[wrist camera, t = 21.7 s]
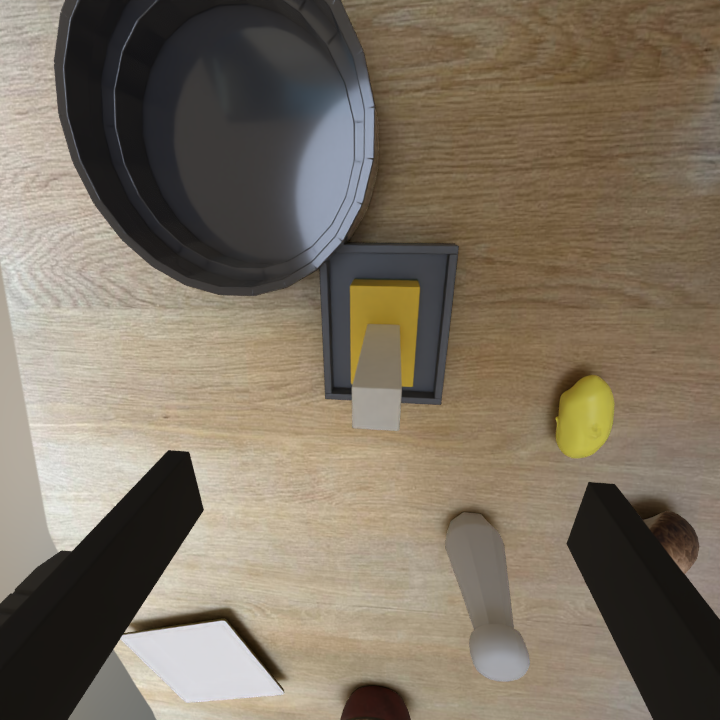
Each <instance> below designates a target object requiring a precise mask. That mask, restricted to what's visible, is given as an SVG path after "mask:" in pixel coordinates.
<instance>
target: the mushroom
mask: <svg viewBox="0 0 720 720" xmlns="http://www.w3.org/2000/svg"><path fill="white" fill-rule="evenodd" d="M643 521H644V522H645V524H646V525H647V526H648V528H649V529H650V530H651V531H652V533H653V534H654V535H655V537H656V538H657V539H658V540H659V542H660V543H661V544H662V546H663V547H664V548H665V550H666V551H667V552H668V553H669V555H670V556H671V557H672V559H673V560H674V561H675V562H676V564H677V565H678V566H679V568H680V569H681V570H682V572H683V573H684V574H685V573H686V572H687V571H688V570H689V569H690V568H691V566H692V565H693V564H694V562H695V561H696V559H697V556H698V551H699V542H698V537H697V535H696V532H695V530H694V529H693V527H692V526H691V525H690V524H689V523H688V522H687V521H686V520H685V519H684V518H682V517H681V516H680V515H678V514H676V513H673V512H669V511H665V512H663V513H660V514H658V515H656V516H654V517H652V518H649V519H644V520H643Z"/></svg>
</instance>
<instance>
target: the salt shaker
mask: <svg viewBox="0 0 720 720" xmlns="http://www.w3.org/2000/svg"><path fill="white" fill-rule="evenodd" d="M445 548H446V551H447V554H448V557H449V559H450V562H451V565H452V568H453V571H454V573H455V576H456V579H457V582H458V584H459V587H460V590H461V593H462V596H463V599H464V602H465V605H466V607H467V610H468V613H469V616H470V619H471V622H472V625H473V628H474V631H473V632H471V636H470V641H469V647H470V654H471V657H472V661H473V664H474V666H475V667H476V669H477V671H478V672H480V673H481V674H482V675H483V676H485V677H487V678H488V679H491V680H495V681H512V680H517V679H519V678H520V677H522V676H523V675H525V673H526V671H527V669H528V667H529V665H530V660H529V653H528V650H527V647H526V645H525V642H524V640H523V638H522V636H521V634H520V633H519V632H518V631H517V630H516V629H514V625H513V616H512V608H511V599H510V591H509V582H508V574H507V565H506V557H505V548H504V543H503V541H502V538H501V536H500V534H499V532H498V531H497V530H496V529H495V528H494V527H493V526H492V525H491V524H490V523H489V522H488V521H487V520H485V518H484V517H483V516H482V515H481V514H478V513H467V512H463V513H461V514H460V515H459V516H457V517H456V518H454V519H453V520H451V522H450V525H449V528H448V532H447V535H446V541H445Z"/></svg>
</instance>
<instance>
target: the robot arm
mask: <svg viewBox="0 0 720 720" xmlns="http://www.w3.org/2000/svg"><path fill="white" fill-rule="evenodd" d="M203 510H204V509H203V505H202V501H201V497H200V493H199V489H198V485H197V481H196V477H195V473H194V469H193V465H192V461H191V457H190V453H189V452H185V451H171V450H168V451H167V452H166V453H165V454H164V456H163V457H162V458H161V459H160V460H159V461H158V462H157V463H156V464H155V465H154V466H153V467H152V468H151V469H150V470H149V471H148V472H147V473H146V474H145V475H144V476H143V478H142V479H141V480H140V481H139V482H138V483H137V484H136V485H135V486H134V487H133V488H132V489H131V490H130V491H129V492H128V493H127V494H126V495H125V496H124V497H123V498H122V500H121V501H120V502H119V503H118V504H117V505H116V506H115V507H114V508H113V509H112V510H111V511H110V512H109V513H108V514H107V515H106V516H105V517H104V518H103V519H102V520H101V522H100V523H99V524H98V525H97V526H96V527H95V528H94V529H93V530H92V531H91V532H90V533H89V534H88V535H87V536H86V537H85V538H84V539H83V540H82V541H81V542H80V544H79V545H78V546H77V547H76V548H75V549H74V550H73V551H72V552H71V551H60V552H59V553H57V554H56V555H54V556H53V557H51V558H50V559H48V560H47V561H46V562H44V563H43V564H41V565H40V566H38V567H37V568H36V569H35V570H34V571H33V572H32V573H31V574H30V575H29V576H28V577H27V578H26V579H25V580H24V581H23V582H22V583H21V584H20V585H19V586H18V587H17V588H16V589H15V592H14V593H13V594H10V595H9V596H8V597H7V598H5V600H3V601H2V603H0V720H68V718H69V716H70V715H71V714H72V712H73V710H74V709H75V707H76V706H77V704H78V703H79V701H80V700H81V698H82V697H83V695H84V694H85V692H86V690H87V689H88V687H89V686H90V684H91V683H92V681H93V680H94V678H95V676H96V675H97V674H98V672H99V670H100V669H101V667H102V666H103V664H104V663H105V661H106V659H107V658H108V657H109V655H110V653H111V652H112V650H113V649H114V647H115V646H116V644H117V643H118V641H119V640H120V638H121V637H122V635H123V634H124V632H125V630H126V629H127V627H128V626H129V624H130V623H131V621H132V620H133V618H134V617H135V615H136V614H137V612H138V610H139V609H140V607H141V606H142V604H143V603H144V601H145V600H146V598H147V597H148V595H149V594H150V592H151V590H152V589H153V587H154V586H155V584H156V583H157V581H158V580H159V578H160V577H161V575H162V574H163V572H164V570H165V569H166V567H167V566H168V564H169V563H170V561H171V560H172V558H173V557H174V555H175V554H176V552H177V550H178V549H179V547H180V546H181V544H182V543H183V541H184V540H185V538H186V537H187V535H188V534H189V532H190V530H191V529H192V527H193V526H194V524H195V523H196V521H197V520H198V518H199V517H200V515H201V514H202V512H203ZM567 546H568V548H569V550H570V552H571V554H572V556H573V558H574V560H575V562H576V564H577V566H578V568H579V570H580V572H581V574H582V576H583V578H584V580H585V582H586V584H587V586H588V588H589V590H590V592H591V594H592V596H593V598H594V600H595V602H596V604H597V606H598V608H599V610H600V612H601V615H602V617H603V619H604V621H605V623H606V625H607V627H608V629H609V631H610V633H611V635H612V637H613V639H614V641H615V643H616V645H617V647H618V649H619V651H620V653H621V655H622V657H623V659H624V661H625V663H626V665H627V667H628V669H629V671H630V673H631V675H632V677H633V679H634V681H635V683H636V686H637V688H638V690H639V692H640V694H641V696H642V698H643V700H644V702H645V704H646V706H647V708H648V710H649V712H650V714H651V716H652V718H653V720H720V619H719V618H718V617H717V615H716V614H715V613H714V612H713V610H712V609H711V608H710V606H709V605H708V604H707V603H706V601H705V600H704V599H703V597H702V596H701V595H700V594H699V592H698V591H697V590H696V588H695V587H694V586H693V584H692V583H691V582H690V581H689V579H688V578H687V577H686V575H685V574H684V573H683V572H682V570H681V569H680V568H679V566H678V565H677V564H676V562H675V561H674V560H673V559H672V557H671V556H670V555H669V553H668V552H667V551H666V550H665V548H664V547H663V546H662V544H661V543H660V542H659V540H658V539H657V538H656V537H655V535H654V534H653V533H652V531H651V530H650V529H649V528H648V526H647V525H646V524H645V522H644V521H643V520H642V519H641V517H640V516H639V515H638V513H637V512H636V511H635V509H634V508H633V507H632V506H631V504H630V503H629V502H628V500H627V499H626V498H625V497H624V495H623V494H622V493H621V491H620V490H619V489H618V487H617V486H616V485H615V484H606V483H593V482H589V483H588V485H587V488H586V491H585V494H584V497H583V499H582V502H581V505H580V508H579V511H578V513H577V516H576V519H575V522H574V525H573V527H572V530H571V533H570V536H569V539H568V541H567Z"/></svg>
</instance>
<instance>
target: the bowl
mask: <svg viewBox="0 0 720 720" xmlns="http://www.w3.org/2000/svg"><path fill="white" fill-rule="evenodd" d="M54 63H55V64H54V70H55V81H56V93H57V104H58V113H59V114H60V115H59V118H60V121H61V125H62V128H63V131H64V135H65V138H66V142H67V145H68V148H69V152H70V155H71V159H72V161H73V164H74V166H75V168H76V170H77V172H78V174H79V176H80V178H81V180H82V182H83V184H84V186H85V188H86V189H87V191H88V193H89V195H90V197H91V199H92V201H93V203H94V204H95V206H96V207H97V209H98V210H99V211H100V213H101V214H102V215H103V216H104V218H105V219H106V220H107V222H108V223H109V224H110V226H111V227H112V228H113V229H114V231H115V232H116V233H117V235H118V236H119V237H120V238H121V239H122V241H124V242H125V243H126V244H127V245H128V246H129V247H130V248H132V249H133V250H134V251H135V252H136V253H137V254H138V255H140V256H141V257H142V258H143V259H144V260H145V261H146V262H148V263H149V264H150V265H151V266H152V267H154V268H155V269H157V270H159V271H161V272H163V273H164V274H166V275H168V276H170V277H171V278H173V279H175V280H177V281H179V282H180V283H182V284H184V285H186V286H190V287H193V288H197V289H200V290H204V291H207V292H211V293H214V294H217V295H231V296H257V295H261V294H264V293H268V292H272V291H276V290H280V289H284V288H287V287H289V286H291V285H293V284H294V283H296V282H298V281H299V280H301V279H303V278H304V277H306V276H308V275H309V274H311V273H313V272H314V271H316V270H317V269H319V268H320V267H321V266H323V265H324V264H325V263H326V262H328V261H329V260H330V259H331V258H333V256H334V255H335V254H336V253H337V252H338V251H339V249H340V248H341V247H342V246H343V245H344V244H346V243H347V242H348V240H349V239H350V238H351V237H352V235H354V233H355V231H356V229H357V227H358V225H359V223H360V222H361V220H362V218H363V216H364V214H365V212H366V210H367V209H368V207H369V204H370V200H371V196H372V192H373V188H374V185H375V181H376V177H377V173H378V167H379V123H378V118H377V113H376V108H375V104H374V99H373V94H372V89H371V84H370V79H369V74H368V69H367V65H366V60H365V55H364V52H363V49H362V46H361V44H360V42H359V40H358V37H357V35H356V33H355V31H354V29H353V26H352V24H351V22H350V20H349V18H348V15H347V13H346V11H345V9H344V7H343V4H342V2H341V0H65V2H64V4H63V7H62V9H61V13H60V20H59V27H58V35H57V42H56V50H55V57H54Z"/></svg>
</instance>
